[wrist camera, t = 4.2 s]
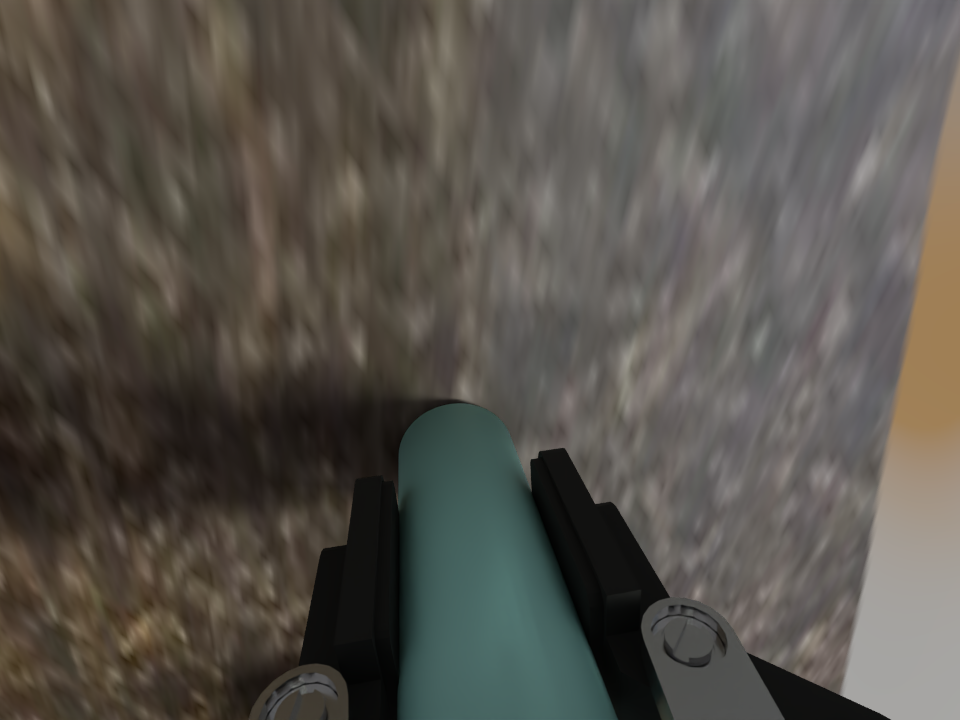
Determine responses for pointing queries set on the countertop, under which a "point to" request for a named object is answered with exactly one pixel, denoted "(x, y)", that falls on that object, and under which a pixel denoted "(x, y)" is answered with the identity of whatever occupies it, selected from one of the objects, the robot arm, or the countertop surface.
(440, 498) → the peg
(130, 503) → the countertop surface
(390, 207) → the countertop surface
